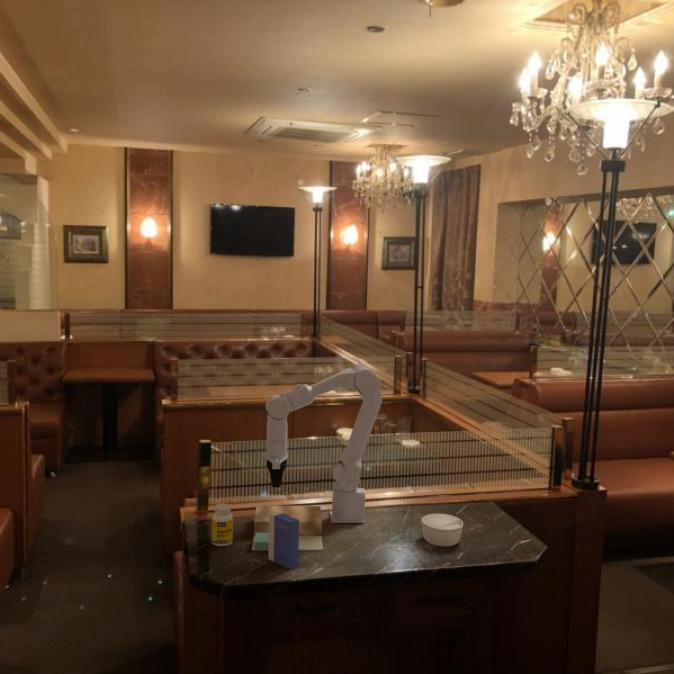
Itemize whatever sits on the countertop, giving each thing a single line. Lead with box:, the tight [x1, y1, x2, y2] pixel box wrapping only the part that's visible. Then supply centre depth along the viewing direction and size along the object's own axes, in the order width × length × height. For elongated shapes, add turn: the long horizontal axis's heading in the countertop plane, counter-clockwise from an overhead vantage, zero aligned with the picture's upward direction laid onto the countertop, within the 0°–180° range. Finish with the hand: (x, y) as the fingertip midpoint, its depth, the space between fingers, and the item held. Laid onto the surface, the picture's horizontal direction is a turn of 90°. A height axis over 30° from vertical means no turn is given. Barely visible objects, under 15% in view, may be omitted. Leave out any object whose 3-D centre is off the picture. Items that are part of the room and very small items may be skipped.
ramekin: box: [420, 513, 464, 548], centre depth 184 cm, size 11×11×5 cm
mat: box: [251, 535, 324, 552], centre depth 179 cm, size 18×8×1 cm, turn 93°
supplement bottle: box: [211, 503, 234, 547], centre depth 178 cm, size 5×5×10 cm
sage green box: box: [255, 533, 269, 550], centre depth 177 cm, size 9×6×2 cm, turn 94°
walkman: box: [267, 511, 299, 570], centre depth 167 cm, size 8×3×12 cm, turn 47°
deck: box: [253, 505, 323, 537], centre depth 189 cm, size 18×12×4 cm, turn 93°
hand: (276, 486), depth 192 cm, fingers closed
